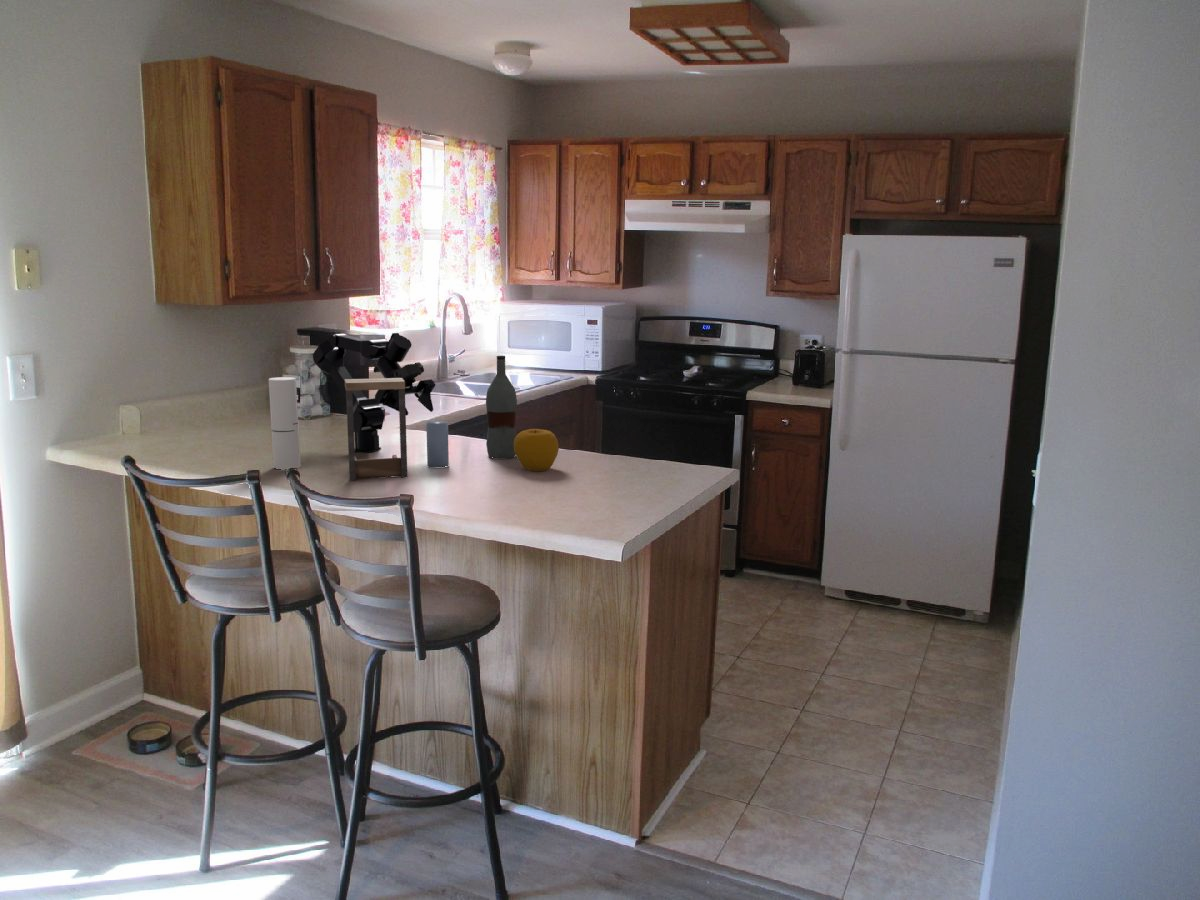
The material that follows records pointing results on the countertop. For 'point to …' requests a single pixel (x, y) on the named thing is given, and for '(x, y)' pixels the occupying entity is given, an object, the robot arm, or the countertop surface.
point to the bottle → (501, 414)
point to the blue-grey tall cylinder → (437, 444)
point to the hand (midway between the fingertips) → (420, 412)
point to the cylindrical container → (284, 422)
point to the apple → (536, 449)
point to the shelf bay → (356, 467)
